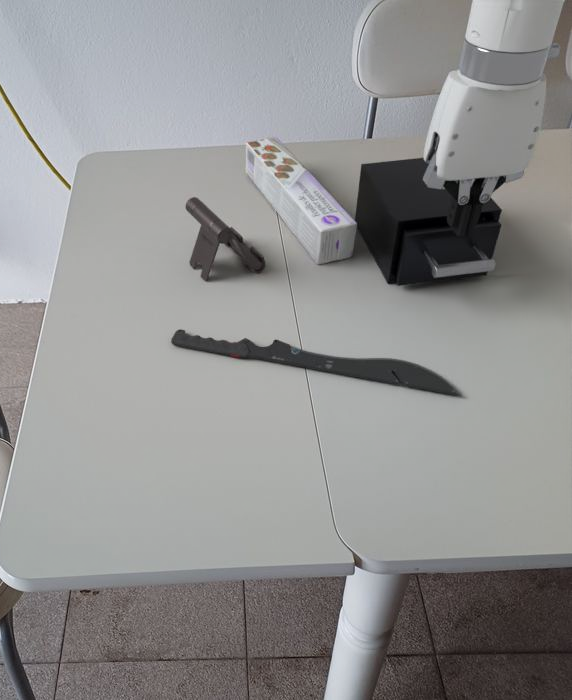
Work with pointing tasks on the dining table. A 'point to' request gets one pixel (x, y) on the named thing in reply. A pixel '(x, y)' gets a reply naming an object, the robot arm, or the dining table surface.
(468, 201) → the robot arm
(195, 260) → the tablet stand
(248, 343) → the knife
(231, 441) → the dining table surface
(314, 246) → the box
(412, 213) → the cabinet
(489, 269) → the drawer
